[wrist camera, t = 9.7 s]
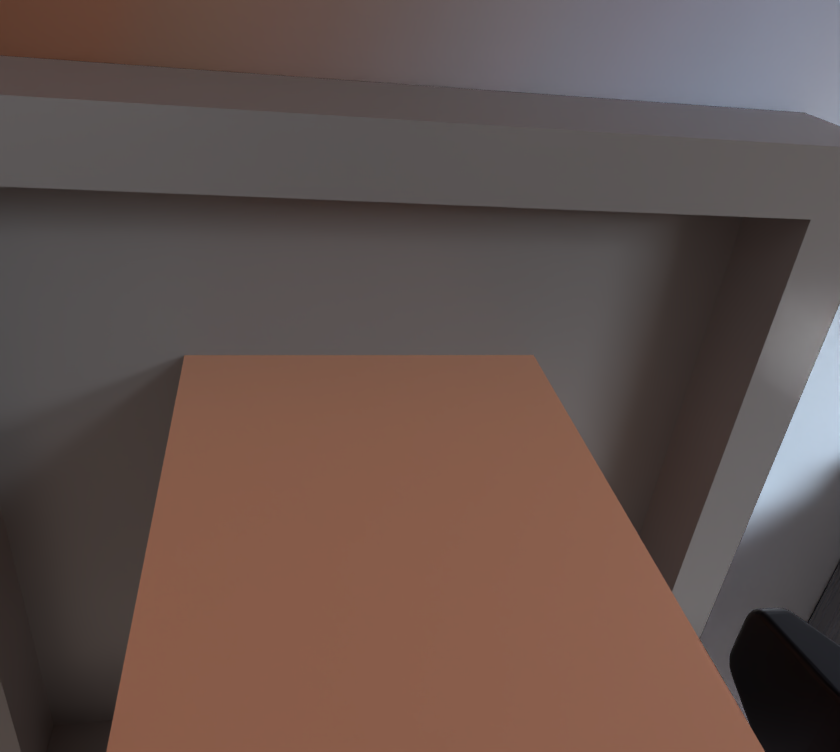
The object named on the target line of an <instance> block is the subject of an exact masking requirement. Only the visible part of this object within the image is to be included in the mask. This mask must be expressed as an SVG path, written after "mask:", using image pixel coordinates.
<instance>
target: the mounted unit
mask: <svg viewBox="0 0 840 752" xmlns="http://www.w3.org/2000/svg"><path fill="white" fill-rule="evenodd" d="M808 624H809V625H811V626H812V627H814V628H815V629H817V630H818V631H819V632H821V633H822V634H824V635H825V636H827V637H828V638H829V639H831V640H832V641H834V642H835V643H836V644H838V645H839V646H840V563H839V565H838V567H837V569H836V571H835V573H834V575H833V576H832V578H831V580H830V582H829V584H828V586H827V588H826V590H825V592H824V594H823V596H822V598H821V600H820V602H819V604H818V605H817V607H816V609H815V611H814V613H813V615H812V617H811V619H810V621H809V623H808Z"/></svg>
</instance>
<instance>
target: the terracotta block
mask: <svg viewBox="0 0 840 752" xmlns="http://www.w3.org/2000/svg"><path fill="white" fill-rule="evenodd" d="M106 752H765V751H764V749H763V747H762V746H761V744H760V742H759V740H758V739H757V737H756V735H755V734H754V732H753V730H752V728H751V727H750V725H749V723H748V722H747V720H746V718H745V717H744V715H743V713H742V711H741V710H740V708H739V706H738V705H737V703H736V701H735V699H734V698H733V696H732V694H731V693H730V691H729V689H728V687H727V686H726V684H725V682H724V681H723V679H722V677H721V675H720V674H719V672H718V670H717V669H716V667H715V665H714V663H713V662H712V660H711V658H710V657H709V655H708V653H707V651H706V650H705V648H704V646H703V645H702V643H701V641H700V639H699V638H698V636H697V634H696V633H695V631H694V629H693V627H692V626H691V624H690V622H689V621H688V619H687V617H686V615H685V614H684V612H683V610H682V609H681V607H680V605H679V603H678V602H677V600H676V598H675V597H674V595H673V593H672V591H671V590H670V588H669V586H668V585H667V583H666V581H665V579H664V578H663V576H662V574H661V573H660V571H659V569H658V567H657V566H656V564H655V562H654V561H653V559H652V557H651V555H650V554H649V552H648V550H647V549H646V547H645V545H644V543H643V542H642V540H641V538H640V537H639V535H638V533H637V531H636V530H635V528H634V526H633V525H632V523H631V521H630V519H629V518H628V516H627V514H626V513H625V511H624V509H623V507H622V506H621V504H620V502H619V501H618V499H617V497H616V495H615V494H614V492H613V490H612V489H611V487H610V485H609V483H608V482H607V480H606V478H605V477H604V475H603V473H602V471H601V470H600V468H599V466H598V465H597V463H596V461H595V460H594V458H593V456H592V454H591V453H590V451H589V449H588V448H587V446H586V444H585V442H584V441H583V439H582V437H581V436H580V434H579V432H578V430H577V429H576V427H575V425H574V424H573V422H572V420H571V418H570V417H569V415H568V413H567V412H566V410H565V408H564V406H563V405H562V403H561V401H560V400H559V398H558V396H557V394H556V393H555V391H554V389H553V388H552V386H551V384H550V382H549V381H548V379H547V377H546V376H545V374H544V372H543V370H542V369H541V367H540V365H539V364H538V362H537V360H536V358H535V357H534V355H184V360H183V365H182V370H181V375H180V380H179V385H178V390H177V395H176V401H175V406H174V411H173V416H172V421H171V426H170V431H169V436H168V441H167V446H166V451H165V456H164V461H163V467H162V472H161V477H160V482H159V487H158V492H157V497H156V502H155V507H154V512H153V517H152V522H151V527H150V533H149V538H148V543H147V548H146V553H145V558H144V563H143V568H142V573H141V578H140V583H139V588H138V593H137V599H136V604H135V609H134V614H133V619H132V624H131V629H130V634H129V639H128V644H127V649H126V654H125V660H124V665H123V670H122V675H121V680H120V685H119V690H118V695H117V700H116V705H115V710H114V715H113V720H112V726H111V731H110V736H109V741H108V746H107V751H106Z"/></svg>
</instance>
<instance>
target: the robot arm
mask: <svg viewBox="0 0 840 752" xmlns="http://www.w3.org/2000/svg"><path fill="white" fill-rule="evenodd" d="M730 670H731V674H732V677H733V680H734V683H735V685H736V688H737V691H738V694H739V696H740V699H741V702H742V705H743V707H744V710H745V713H746V715H747V718H748V721H749V724H750V726H751V728H752V730H753V732H754V734H755V735H756V737H757V739H758V740H759V742H760V744H761V746H762V747H763V749H764V751H765V752H840V646H839V645H838V644H836V643H835V642H834V641H832V640H831V639H829V638H828V637H827V636H825V635H824V634H822V633H821V632H819V631H818V630H817V629H815V628H814V627H812V626H811V625H809V624H808V623H807V622H805V621H804V620H802V619H801V618H799V617H798V616H797V615H795V614H794V613H792V612H790V611H789V610H786V609H783V608H768V609H756V610H753V611H752V612H750V613H749V614H748V616H747V617H746V619H745V621H744V624H743V626H742V628H741V630H740V632H739V635H738V637H737V639H736V641H735V643H734V646H733V648H732V650H731V653H730Z"/></svg>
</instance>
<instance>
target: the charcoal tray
mask: <svg viewBox="0 0 840 752" xmlns="http://www.w3.org/2000/svg"><path fill="white" fill-rule="evenodd" d="M839 304H840V126H838V125H835V124H833V123H830V122H827V121H825V120H822V119H820V118H817V117H814V116H812V115H809V114H807V113H801V112H787V111H773V110H759V109H745V108H731V107H717V106H703V105H689V104H674V103H660V102H646V101H632V100H618V99H604V98H590V97H576V96H562V95H548V94H534V93H519V92H505V91H491V90H477V89H463V88H449V87H435V86H421V85H407V84H393V83H379V82H364V81H350V80H336V79H322V78H308V77H294V76H280V75H266V74H252V73H238V72H224V71H209V70H195V69H181V68H167V67H153V66H139V65H125V64H111V63H97V62H83V61H69V60H55V59H40V58H26V57H12V56H0V752H106V751H107V746H108V741H109V736H110V731H111V726H112V720H113V715H114V710H115V705H116V700H117V695H118V690H119V685H120V680H121V675H122V670H123V665H124V660H125V654H126V649H127V644H128V639H129V634H130V629H131V624H132V619H133V614H134V609H135V604H136V599H137V593H138V588H139V583H140V578H141V573H142V568H143V563H144V558H145V553H146V548H147V543H148V538H149V533H150V527H151V522H152V517H153V512H154V507H155V502H156V497H157V492H158V487H159V482H160V477H161V472H162V467H163V461H164V456H165V451H166V446H167V441H168V436H169V431H170V426H171V421H172V416H173V411H174V406H175V401H176V395H177V390H178V385H179V380H180V375H181V370H182V365H183V360H184V355H534V357H535V358H536V360H537V362H538V364H539V365H540V367H541V369H542V370H543V372H544V374H545V376H546V377H547V379H548V381H549V382H550V384H551V386H552V388H553V389H554V391H555V393H556V394H557V396H558V398H559V400H560V401H561V403H562V405H563V406H564V408H565V410H566V412H567V413H568V415H569V417H570V418H571V420H572V422H573V424H574V425H575V427H576V429H577V430H578V432H579V434H580V436H581V437H582V439H583V441H584V442H585V444H586V446H587V448H588V449H589V451H590V453H591V454H592V456H593V458H594V460H595V461H596V463H597V465H598V466H599V468H600V470H601V471H602V473H603V475H604V477H605V478H606V480H607V482H608V483H609V485H610V487H611V489H612V490H613V492H614V494H615V495H616V497H617V499H618V501H619V502H620V504H621V506H622V507H623V509H624V511H625V513H626V514H627V516H628V518H629V519H630V521H631V523H632V525H633V526H634V528H635V530H636V531H637V533H638V535H639V537H640V538H641V540H642V542H643V543H644V545H645V547H646V549H647V550H648V552H649V554H650V555H651V557H652V559H653V561H654V562H655V564H656V566H657V567H658V569H659V571H660V573H661V574H662V576H663V578H664V579H665V581H666V583H667V585H668V586H669V588H670V590H671V591H672V593H673V595H674V597H675V598H676V600H677V602H678V603H679V605H680V607H681V609H682V610H683V612H684V614H685V615H686V617H687V619H688V621H689V622H690V624H691V626H692V627H693V629H694V631H695V633H696V634H697V636H698V638H699V639H700V637H701V634H702V632H703V630H704V627H705V625H706V622H707V620H708V618H709V615H710V613H711V610H712V608H713V606H714V603H715V601H716V598H717V596H718V594H719V591H720V589H721V586H722V584H723V582H724V579H725V577H726V574H727V572H728V570H729V567H730V565H731V562H732V560H733V558H734V555H735V553H736V551H737V548H738V546H739V543H740V541H741V539H742V536H743V534H744V531H745V529H746V527H747V524H748V522H749V519H750V517H751V515H752V512H753V510H754V507H755V505H756V503H757V500H758V498H759V495H760V493H761V491H762V488H763V486H764V483H765V481H766V479H767V476H768V474H769V472H770V469H771V467H772V464H773V462H774V460H775V457H776V455H777V452H778V450H779V448H780V445H781V443H782V440H783V438H784V436H785V433H786V431H787V428H788V426H789V424H790V421H791V419H792V416H793V414H794V412H795V409H796V407H797V404H798V402H799V400H800V397H801V395H802V393H803V390H804V388H805V385H806V383H807V381H808V378H809V376H810V373H811V371H812V369H813V366H814V364H815V361H816V359H817V357H818V354H819V352H820V349H821V347H822V345H823V342H824V340H825V337H826V335H827V333H828V330H829V328H830V325H831V323H832V321H833V318H834V316H835V314H836V311H837V309H838V306H839Z"/></svg>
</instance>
